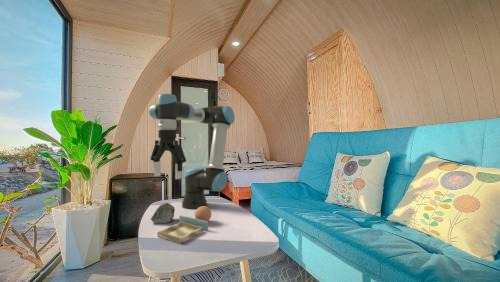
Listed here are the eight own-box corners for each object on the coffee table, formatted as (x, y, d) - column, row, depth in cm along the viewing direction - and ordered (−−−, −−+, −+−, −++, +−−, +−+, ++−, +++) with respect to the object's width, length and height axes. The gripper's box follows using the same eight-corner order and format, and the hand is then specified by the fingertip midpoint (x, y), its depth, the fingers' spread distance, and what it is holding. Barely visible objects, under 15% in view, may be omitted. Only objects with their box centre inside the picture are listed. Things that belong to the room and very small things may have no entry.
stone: (160, 203, 105) (171, 198, 115) (146, 216, 106) (158, 209, 116) (172, 219, 104) (182, 212, 114) (157, 232, 105) (169, 224, 115)
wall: (180, 223, 107) (180, 215, 107) (208, 230, 99) (208, 221, 99) (179, 224, 106) (179, 215, 106) (206, 231, 98) (206, 222, 98)
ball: (202, 218, 114) (202, 203, 114) (214, 221, 110) (214, 205, 110) (191, 223, 107) (191, 207, 107) (204, 226, 103) (204, 209, 103)
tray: (181, 226, 103) (181, 221, 103) (203, 231, 97) (203, 227, 97) (157, 236, 92) (157, 231, 92) (180, 243, 85) (180, 238, 85)
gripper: (142, 129, 100) (142, 176, 100) (181, 128, 87) (181, 181, 88) (156, 130, 106) (156, 173, 106) (194, 129, 94) (194, 178, 94)
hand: (167, 177), depth 97 cm, fingers open, 13 cm apart
